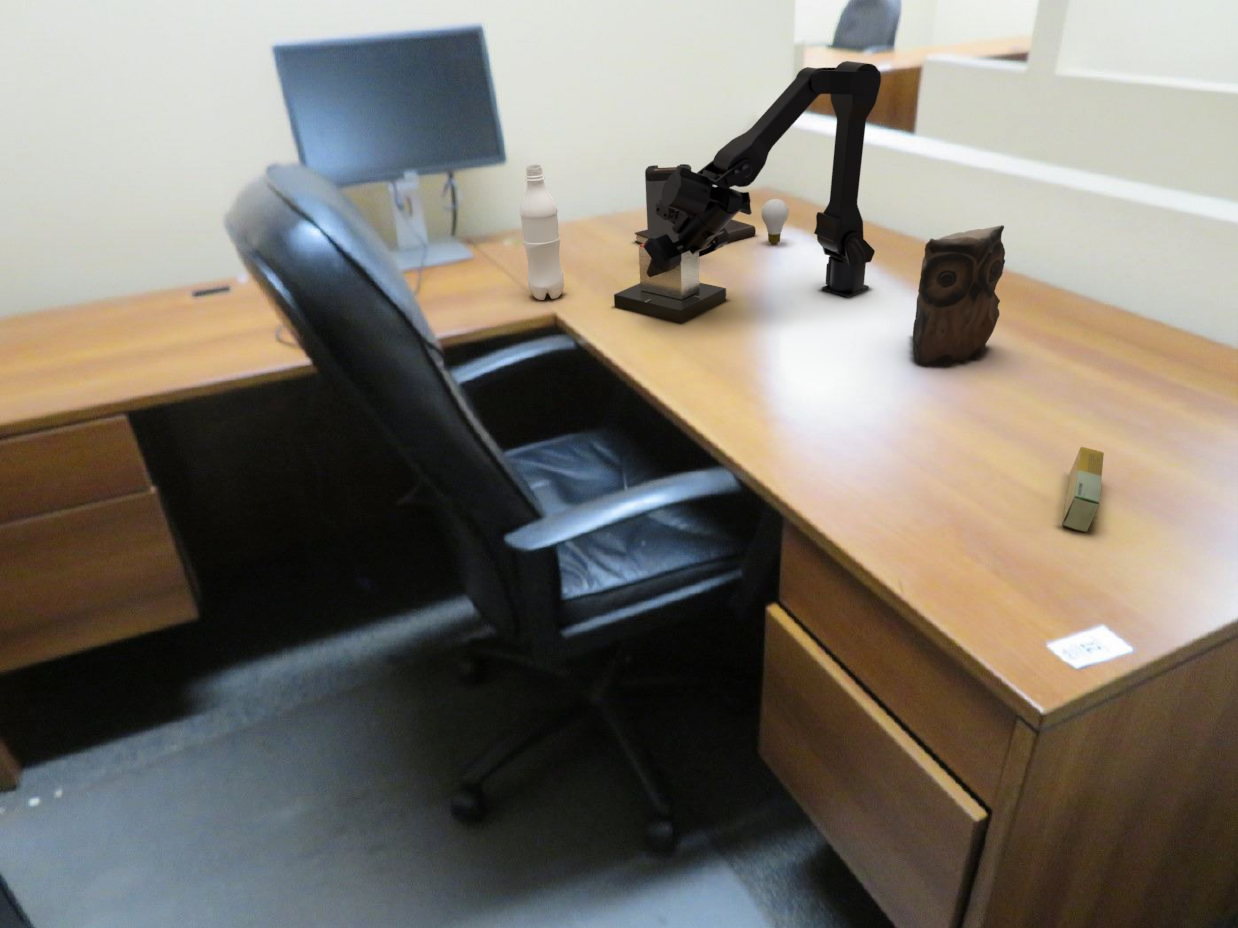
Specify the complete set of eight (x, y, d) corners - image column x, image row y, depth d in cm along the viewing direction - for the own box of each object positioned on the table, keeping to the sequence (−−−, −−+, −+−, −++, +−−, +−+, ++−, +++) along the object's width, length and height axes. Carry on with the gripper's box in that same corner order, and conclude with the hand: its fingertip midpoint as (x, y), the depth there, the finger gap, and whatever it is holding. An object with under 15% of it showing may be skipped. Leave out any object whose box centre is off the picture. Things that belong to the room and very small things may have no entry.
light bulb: (789, 247, 188) (791, 201, 183) (762, 249, 189) (763, 203, 184) (785, 240, 193) (787, 195, 188) (759, 241, 194) (760, 196, 189)
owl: (994, 346, 137) (1017, 221, 126) (980, 377, 127) (1003, 245, 117) (914, 335, 142) (929, 215, 132) (894, 364, 133) (909, 237, 123)
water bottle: (560, 302, 167) (547, 170, 154) (525, 302, 168) (509, 171, 156) (569, 290, 173) (557, 162, 160) (535, 289, 174) (520, 163, 162)
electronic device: (693, 258, 186) (691, 163, 176) (692, 267, 181) (690, 169, 171) (650, 260, 187) (646, 165, 177) (648, 268, 182) (644, 171, 172)
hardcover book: (634, 242, 199) (634, 232, 198) (712, 223, 209) (712, 213, 208) (675, 257, 187) (675, 247, 186) (755, 236, 198) (755, 226, 196)
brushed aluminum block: (699, 291, 160) (699, 245, 155) (681, 300, 157) (680, 253, 152) (658, 282, 166) (656, 237, 161) (640, 290, 162) (638, 245, 158)
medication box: (1088, 534, 93) (1100, 505, 91) (1061, 526, 94) (1072, 497, 92) (1093, 478, 102) (1104, 450, 100) (1069, 471, 103) (1079, 444, 101)
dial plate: (726, 300, 162) (726, 287, 161) (680, 324, 153) (680, 309, 152) (661, 286, 172) (660, 273, 170) (614, 307, 163) (613, 293, 161)
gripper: (715, 169, 154) (669, 222, 166) (649, 191, 142) (605, 247, 155) (751, 218, 153) (702, 268, 166) (688, 245, 142) (640, 296, 154)
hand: (663, 268), depth 160 cm, fingers open, 8 cm apart
